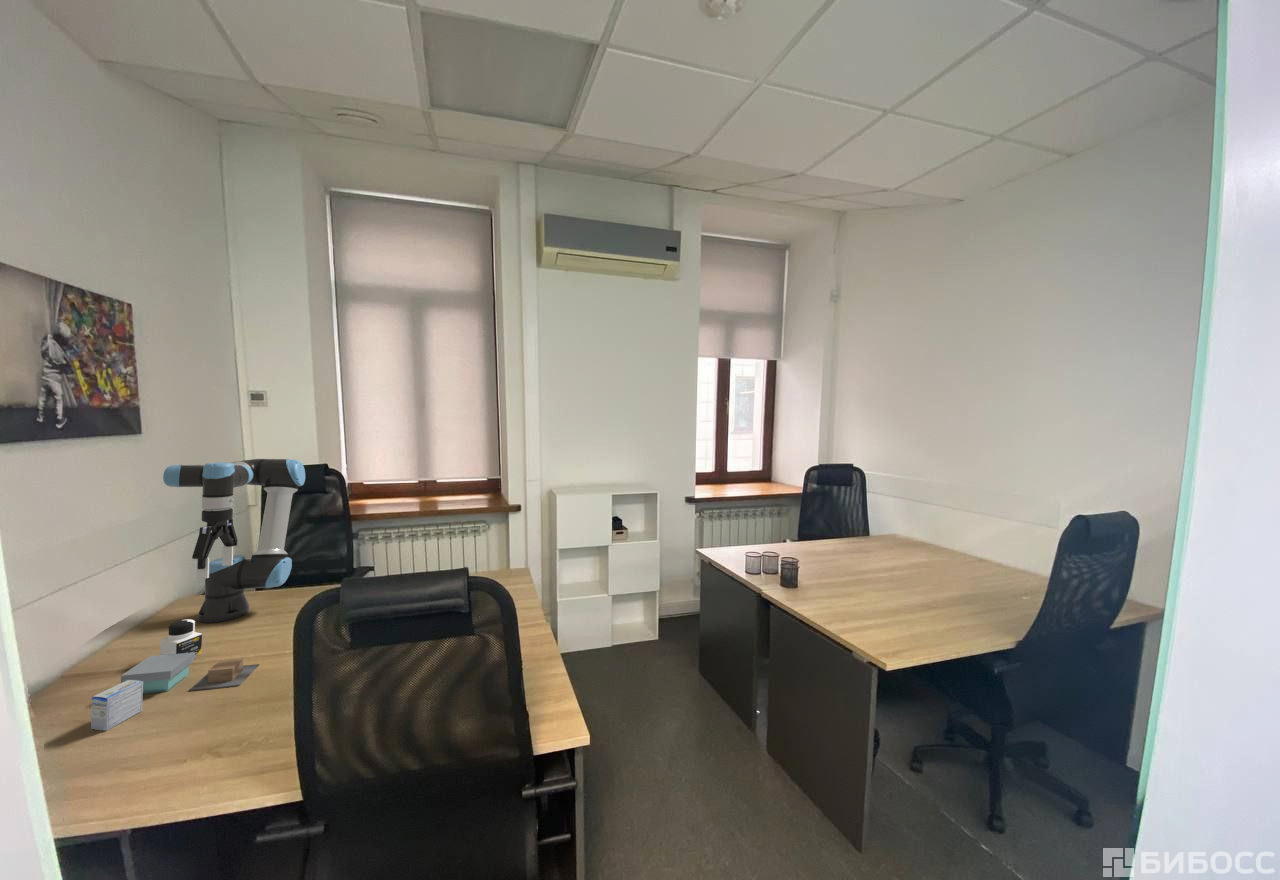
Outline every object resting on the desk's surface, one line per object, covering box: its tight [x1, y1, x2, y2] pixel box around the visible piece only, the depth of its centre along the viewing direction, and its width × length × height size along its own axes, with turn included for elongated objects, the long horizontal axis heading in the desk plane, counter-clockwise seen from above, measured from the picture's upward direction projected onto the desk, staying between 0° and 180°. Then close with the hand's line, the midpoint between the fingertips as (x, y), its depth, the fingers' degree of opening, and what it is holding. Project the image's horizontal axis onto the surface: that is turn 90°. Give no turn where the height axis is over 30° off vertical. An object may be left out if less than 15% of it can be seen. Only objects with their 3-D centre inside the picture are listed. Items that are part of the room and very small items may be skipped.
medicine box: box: [90, 680, 143, 732], centre depth 116 cm, size 8×4×9 cm, turn 178°
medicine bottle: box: [159, 618, 203, 657], centre depth 146 cm, size 7×7×12 cm
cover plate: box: [120, 652, 196, 683], centre depth 131 cm, size 11×11×2 cm
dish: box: [143, 664, 190, 694], centre depth 131 cm, size 9×9×4 cm
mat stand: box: [188, 658, 260, 692], centre depth 136 cm, size 12×12×4 cm
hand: (215, 571), depth 148 cm, fingers open, 13 cm apart
